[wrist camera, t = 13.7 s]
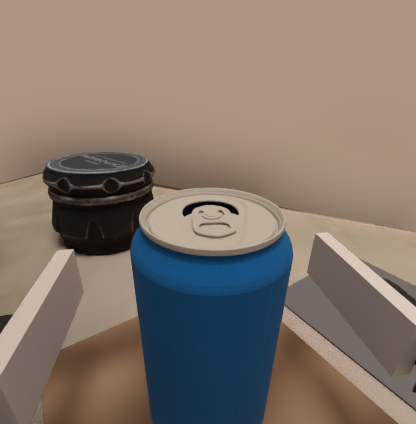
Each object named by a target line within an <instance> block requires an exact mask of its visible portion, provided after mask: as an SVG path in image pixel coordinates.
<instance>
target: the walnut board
mask: <svg viewBox="0 0 416 424" xmlns="http://www.w3.org/2000/svg"><path fill="white" fill-rule="evenodd" d="M42 403H43V416H44V424H154V423H153V421H152V417H151V412H150V404H149V397H148V389H147V381H146V373H145V365H144V357H143V349H142V341H141V333H140V325H139V317H135V318H133V319H131V320H128V321H126V322H124V323H122V324H119V325H117V326H115V327H112V328H110V329H108V330H106V331H103V332H101V333H99V334H96V335H94V336H92V337H89V338H87V339H85V340H83V341H80V342H78V343H76V344H73V345H71V346H69V347H67V348H64V349H62V350H60V352H59V354H58V357H57V359H56V362H55V364H54V367H53V369H52V372H51V374H50V377H49V379H48V382H47V384H46V386H45V389H44V391H43V394H42ZM262 424H398V423H397V422H396V421H395V420H393V419H392V418H391V417H390V416H389V415H388V414H387V413H385V412H384V411H383V410H382V409H381V408H380V407H379V406H377V405H376V404H375V403H374V402H373V401H372V400H371V399H369V398H368V397H367V396H366V395H365V394H364V393H363V392H361V391H360V390H359V389H358V388H357V387H356V386H355V385H353V384H352V383H351V382H350V381H349V380H348V379H346V378H345V377H344V376H343V375H342V374H341V373H340V372H338V371H337V370H336V369H335V368H334V367H333V366H332V365H330V364H329V363H328V362H327V361H326V360H325V359H324V358H322V357H321V356H320V355H319V354H318V353H317V352H316V351H314V350H313V349H312V348H311V347H310V346H309V345H308V344H306V343H305V342H304V341H303V340H302V339H301V338H300V337H298V336H297V335H296V334H295V333H294V332H293V331H292V330H290V329H289V328H288V327H287V326H286V325H285V324H284V323H282V322H281V326H280V331H279V337H278V342H277V348H276V353H275V359H274V364H273V370H272V375H271V381H270V386H269V392H268V397H267V403H266V408H265V414H264V418H263V422H262Z"/></svg>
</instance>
